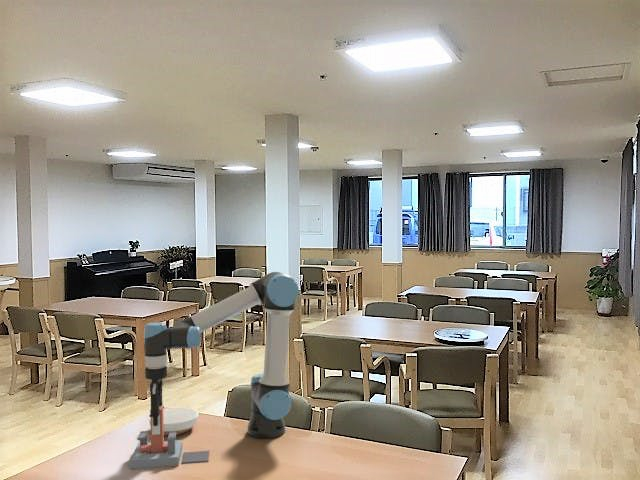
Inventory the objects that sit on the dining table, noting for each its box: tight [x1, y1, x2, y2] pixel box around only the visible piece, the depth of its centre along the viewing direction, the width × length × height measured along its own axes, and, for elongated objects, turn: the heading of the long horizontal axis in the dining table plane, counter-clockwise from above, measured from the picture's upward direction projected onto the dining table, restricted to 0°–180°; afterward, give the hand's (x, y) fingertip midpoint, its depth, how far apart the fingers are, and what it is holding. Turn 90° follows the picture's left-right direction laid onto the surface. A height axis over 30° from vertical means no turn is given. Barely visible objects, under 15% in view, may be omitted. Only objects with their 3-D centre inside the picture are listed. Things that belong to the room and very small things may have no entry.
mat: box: [181, 450, 210, 465], centre depth 204 cm, size 9×9×1 cm
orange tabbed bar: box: [140, 405, 168, 454], centre depth 204 cm, size 12×4×18 cm, turn 99°
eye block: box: [130, 430, 184, 470], centre depth 204 cm, size 16×16×8 cm
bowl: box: [148, 407, 199, 436], centre depth 232 cm, size 20×20×6 cm
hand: (157, 430), depth 204 cm, fingers open, 6 cm apart
